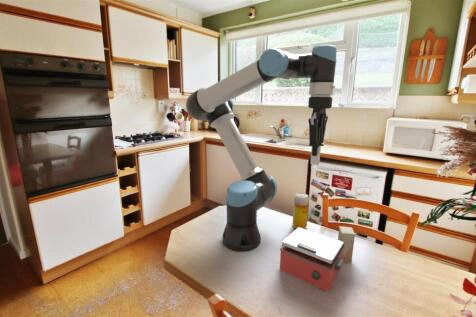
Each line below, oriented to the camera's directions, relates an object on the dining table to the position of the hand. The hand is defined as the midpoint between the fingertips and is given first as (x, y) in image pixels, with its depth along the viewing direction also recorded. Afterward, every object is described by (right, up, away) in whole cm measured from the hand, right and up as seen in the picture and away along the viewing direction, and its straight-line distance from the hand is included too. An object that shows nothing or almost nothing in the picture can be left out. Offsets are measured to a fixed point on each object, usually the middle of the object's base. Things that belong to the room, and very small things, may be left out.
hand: (314, 164), depth 88 cm
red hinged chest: (-3, -35, -5) cm, 35 cm away
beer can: (0, -28, +20) cm, 35 cm away
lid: (-3, -26, -7) cm, 27 cm away
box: (+10, -34, 0) cm, 35 cm away
